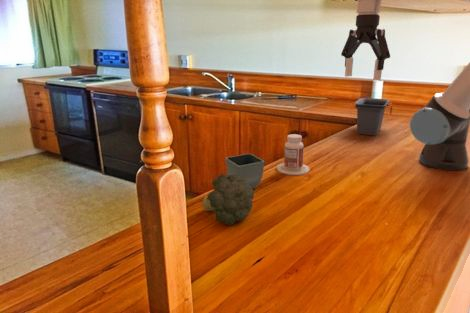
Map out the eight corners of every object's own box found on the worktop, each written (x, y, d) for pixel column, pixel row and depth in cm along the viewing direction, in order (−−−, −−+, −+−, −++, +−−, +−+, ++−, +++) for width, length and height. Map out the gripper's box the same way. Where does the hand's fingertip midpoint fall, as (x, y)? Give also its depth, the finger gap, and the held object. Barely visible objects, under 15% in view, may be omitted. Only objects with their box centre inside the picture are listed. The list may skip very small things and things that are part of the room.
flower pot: (238, 195, 107) (238, 166, 104) (225, 185, 114) (224, 157, 111) (264, 189, 110) (265, 161, 108) (250, 180, 118) (250, 153, 115)
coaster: (316, 171, 125) (316, 169, 124) (288, 177, 120) (288, 175, 120) (296, 162, 134) (296, 160, 134) (270, 167, 129) (270, 165, 129)
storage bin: (358, 125, 188) (361, 96, 183) (391, 128, 181) (395, 99, 177) (350, 134, 170) (352, 103, 165) (386, 138, 163) (390, 106, 159)
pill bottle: (296, 163, 130) (298, 132, 127) (305, 169, 125) (307, 137, 121) (280, 165, 128) (281, 134, 125) (289, 171, 123) (290, 139, 119)
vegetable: (227, 191, 104) (267, 180, 94) (220, 235, 98) (262, 229, 88) (194, 174, 97) (233, 160, 87) (183, 220, 91) (224, 211, 81)
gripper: (407, 12, 117) (398, 80, 124) (349, 16, 138) (345, 74, 145) (390, 11, 114) (382, 82, 120) (334, 15, 135) (330, 75, 142)
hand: (361, 78), depth 133 cm, fingers open, 13 cm apart
